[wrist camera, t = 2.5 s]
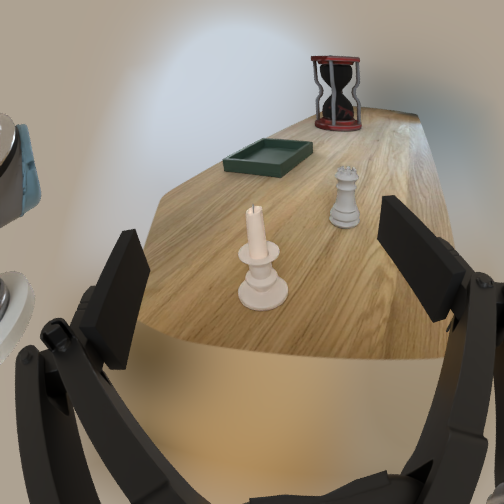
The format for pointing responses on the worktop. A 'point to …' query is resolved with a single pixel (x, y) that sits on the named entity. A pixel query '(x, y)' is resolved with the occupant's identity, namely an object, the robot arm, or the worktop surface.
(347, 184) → the rook chess piece
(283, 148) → the tray
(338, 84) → the hourglass
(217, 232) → the worktop surface
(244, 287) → the candle
